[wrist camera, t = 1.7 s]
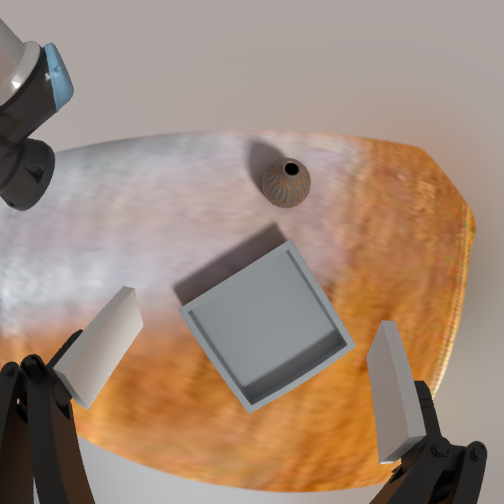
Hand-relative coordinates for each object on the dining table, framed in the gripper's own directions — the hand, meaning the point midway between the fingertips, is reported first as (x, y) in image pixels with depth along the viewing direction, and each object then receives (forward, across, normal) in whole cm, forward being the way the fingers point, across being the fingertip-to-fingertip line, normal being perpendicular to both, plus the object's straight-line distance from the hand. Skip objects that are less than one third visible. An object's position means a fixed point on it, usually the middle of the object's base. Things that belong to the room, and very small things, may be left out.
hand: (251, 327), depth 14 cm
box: (+20, 0, -18) cm, 27 cm away
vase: (+32, 0, -1) cm, 32 cm away
